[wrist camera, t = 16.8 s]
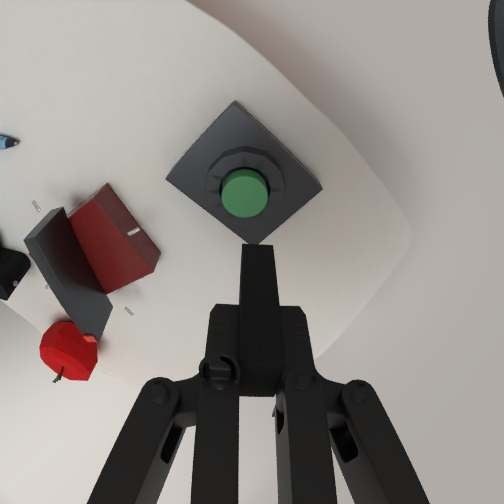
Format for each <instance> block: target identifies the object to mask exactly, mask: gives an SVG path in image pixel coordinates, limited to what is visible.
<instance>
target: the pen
mask: <svg viewBox="0 0 504 504" xmlns="http://www.w3.org/2000/svg"><path fill="white" fill-rule="evenodd" d="M16 144H17V142H16V141H15V140H12V139H10V138H7V137H4V136H0V149H7V148H9V147H13V146H15V145H16Z"/></svg>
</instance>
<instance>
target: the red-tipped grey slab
mask: <svg viewBox="0 0 504 504" xmlns="http://www.w3.org/2000/svg"><path fill="white" fill-rule="evenodd" d="M24 242H25V244H26V246H27V248H28V250H29V252H30V254H31V256H32V257H33V259H34V261H35V263H36V265H37V266H38V268H39V270H40V272H41V273H42V275H43V277H44V278H45V280H46V282H47V283H48V285H49V286H50V288H51V290H52V291H53V293H54V294H55V296H56V297H57V299H58V301H59V302H60V304H61V305H62V307H63V308H64V309H65V311H66V312H67V314H68V315H69V317H70V318H71V320H72V321H73V322H74V324H75V325H76V326H77V328H78V329H79V331H80V332H81V333H82V335H83V337H84V339H85V340H86V341H87V342H100V339H101V336H102V334H103V331H104V328H105V326H106V323H107V321H108V318H109V316H110V313H111V311H112V308H113V306H112V304H111V302H110V301H109V299H108V297H107V295H106V294H105V292H104V290H103V288H102V287H101V285H100V283H99V281H98V279H97V277H96V275H95V274H94V272H93V270H92V268H91V266H90V264H89V262H88V260H87V258H86V256H85V254H84V252H83V250H82V248H81V246H80V244H79V242H78V239H77V237H76V235H75V233H74V231H73V228H72V226H71V224H70V222H69V219H68V217H67V215H66V212H65V210H64V207H60V208H57V209H53V210H51V211H50V212H49V213H48V214H47V215H46V216H45V217H44V218H43V219H42V220H41V221H40V222H39V223H38V224H37V226H36V227H35V228H34V229H33V230H32V231H31V232H30V233H29V234H28V235H27V237H26V238H25V239H24Z"/></svg>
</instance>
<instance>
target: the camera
mask: <svg viewBox="0 0 504 504" xmlns="http://www.w3.org/2000/svg"><path fill="white" fill-rule="evenodd" d="M30 265H31V264H30V260H29V259H28V257H27V256H26V255H25V254H23V253H21V252H17V251H12V250H8V249H4V248H0V299H2V300H8V298H9V297H10V295H11V294H12V292H13V291H14V290H15V288H16V287H17V285H18V284H19V282H20V281H21V279H22V278H23V277H24V275H25V274H26V272H27V271H28V270H29V268H30Z"/></svg>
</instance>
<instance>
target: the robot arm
mask: <svg viewBox="0 0 504 504" xmlns="http://www.w3.org/2000/svg"><path fill="white" fill-rule="evenodd" d="M307 326H308V325H307V319H306V315H305V314H304V312H303V311H302V309H301V308H300V306H280V305H279V295H278V286H277V276H276V267H275V258H274V250H273V245H260V244H242V255H241V273H240V293H239V305H231V304H216V305H215V306H214V308H213V309H212V311H211V312H210V318H209V326H208V334H207V343H206V351H205V358H204V359H203V360H202V361H201V362H200V365H199V373H198V374H197V375H195V376H194V377H192V378H189V379H186V380H181V381H175V382H173V381H171V380H170V379H168V378H163V377H157V378H153V379H151V380H149V381H147V382H146V384H145V385H144V386H143V388H142V389H141V392H140V393H139V396H138V398H137V399H136V402H135V403H134V405H133V407H132V409H131V411H130V413H129V415H128V417H127V419H126V421H125V423H124V426H123V427H122V430H121V432H120V433H119V436H118V438H117V440H116V442H115V444H114V446H113V448H112V450H111V452H110V454H109V457H108V458H107V461H106V463H105V465H104V467H103V469H102V471H101V474H100V476H99V478H98V480H97V482H96V484H95V486H94V489H93V491H92V493H91V496H90V498H89V500H88V502H87V504H156V503H157V501H158V498H159V496H160V493H161V491H162V488H163V486H164V483H165V481H166V478H167V476H168V473H169V471H170V468H171V466H172V463H173V460H174V458H175V455H176V453H177V450H178V448H179V445H180V443H181V440H182V438H183V435H184V433H185V430H186V428H187V427H190V426H195V425H196V432H195V444H194V457H193V458H194V459H193V471H192V486H191V504H238V462H239V461H238V460H239V459H238V458H239V457H238V456H239V452H238V451H239V396H248V397H252V396H253V397H274V395H275V393H276V405H275V408H274V410H273V414H272V417H275V432H276V455H277V480H278V504H337V495H336V486H335V476H334V467H333V460H332V459H333V458H332V451H331V447H332V449H333V452H334V454H335V456H336V459H337V461H338V464H339V466H340V468H341V471H342V474H343V476H344V479H345V481H346V483H347V486H348V488H349V491H350V493H351V495H352V498H353V500H354V503H355V504H430V503H429V501H428V499H427V496H426V494H425V492H424V490H423V487H422V485H421V483H420V481H419V479H418V477H417V474H416V472H415V470H414V468H413V466H412V464H411V462H410V460H409V457H408V456H407V453H406V451H405V449H404V447H403V445H402V443H401V441H400V439H399V437H398V435H397V433H396V431H395V429H394V427H393V425H392V423H391V421H390V419H389V417H388V415H387V413H386V411H385V409H384V407H383V405H382V403H381V402H380V400H379V398H378V396H377V394H376V392H375V390H374V388H373V387H372V386H371V385H370V384H369V383H367V382H366V381H363V380H352V381H350V382H348V383H347V384H341V383H337V382H333V381H330V380H327V379H325V378H324V377H322V376H321V375H320V374H319V373H318V372H317V370H316V369H315V365H314V360H313V354H312V348H311V342H310V336H309V331H308V327H307Z"/></svg>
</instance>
